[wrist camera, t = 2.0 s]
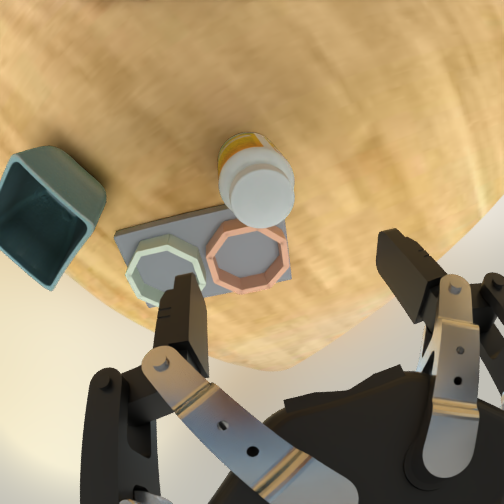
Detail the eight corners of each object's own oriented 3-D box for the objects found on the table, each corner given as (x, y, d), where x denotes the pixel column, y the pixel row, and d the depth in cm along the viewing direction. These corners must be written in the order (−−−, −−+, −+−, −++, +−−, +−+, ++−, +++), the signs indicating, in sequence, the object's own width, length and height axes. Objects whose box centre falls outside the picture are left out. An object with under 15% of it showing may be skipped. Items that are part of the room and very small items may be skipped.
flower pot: (65, 125, 20) (11, 151, 13) (128, 182, 25) (96, 228, 17) (27, 190, 23) (-19, 233, 16) (83, 239, 27) (51, 294, 20)
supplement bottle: (284, 142, 25) (320, 176, 17) (263, 193, 27) (285, 246, 19) (228, 123, 23) (237, 146, 15) (209, 177, 26) (208, 226, 18)
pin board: (116, 231, 27) (107, 248, 25) (279, 193, 28) (286, 207, 25) (150, 301, 33) (146, 320, 30) (289, 272, 33) (295, 290, 31)
